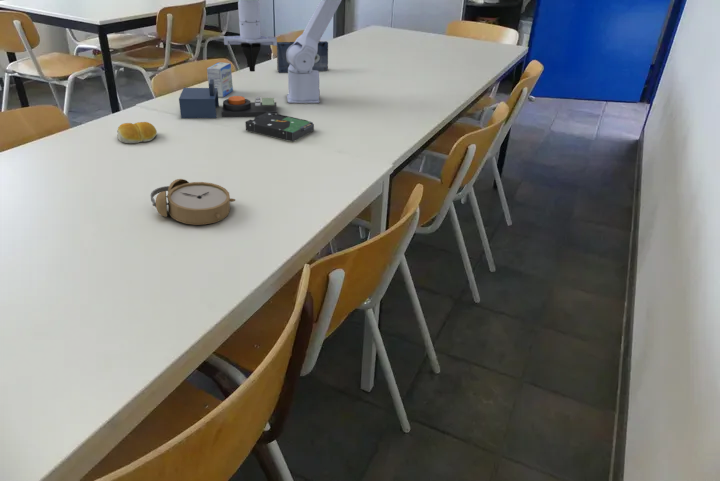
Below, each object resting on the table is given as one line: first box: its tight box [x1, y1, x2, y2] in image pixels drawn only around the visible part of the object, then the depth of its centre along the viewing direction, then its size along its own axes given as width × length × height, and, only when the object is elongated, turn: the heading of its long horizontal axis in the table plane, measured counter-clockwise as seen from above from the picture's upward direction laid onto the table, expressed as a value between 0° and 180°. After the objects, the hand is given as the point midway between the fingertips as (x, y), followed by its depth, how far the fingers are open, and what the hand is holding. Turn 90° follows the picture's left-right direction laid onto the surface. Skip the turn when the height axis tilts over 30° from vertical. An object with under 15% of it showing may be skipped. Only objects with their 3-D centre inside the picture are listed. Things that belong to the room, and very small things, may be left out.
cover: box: [178, 79, 220, 119], centre depth 151 cm, size 9×11×9 cm
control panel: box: [221, 98, 278, 118], centre depth 155 cm, size 15×9×3 cm, turn 99°
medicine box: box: [206, 61, 234, 98], centre depth 167 cm, size 8×4×9 cm, turn 168°
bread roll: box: [116, 121, 158, 144], centre depth 134 cm, size 8×9×4 cm
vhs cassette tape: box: [276, 40, 329, 74], centre depth 195 cm, size 18×3×10 cm, turn 108°
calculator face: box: [254, 96, 275, 106], centre depth 154 cm, size 5×8×1 cm, turn 9°
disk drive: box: [245, 112, 315, 142], centre depth 142 cm, size 10×3×15 cm
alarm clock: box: [150, 178, 236, 226], centre depth 103 cm, size 11×5×15 cm
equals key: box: [227, 95, 246, 105], centre depth 153 cm, size 5×5×1 cm
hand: (252, 70), depth 158 cm, fingers closed
